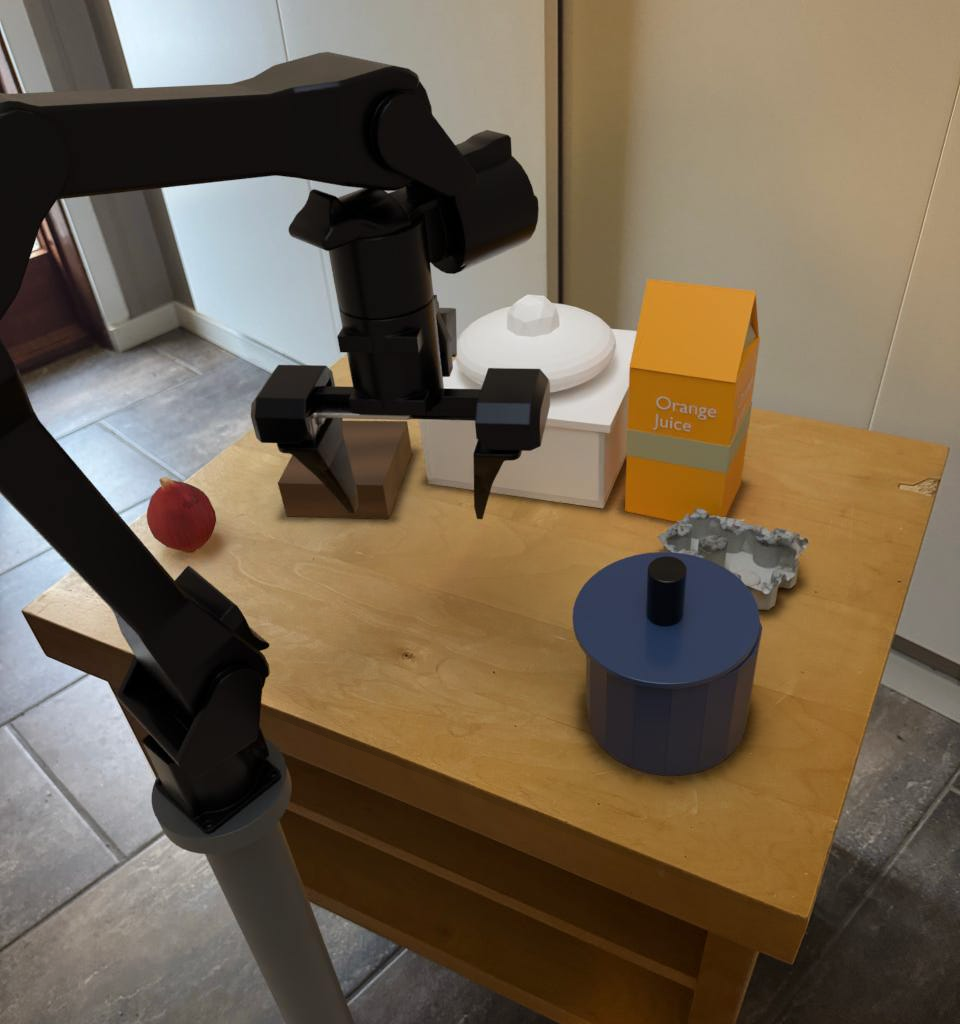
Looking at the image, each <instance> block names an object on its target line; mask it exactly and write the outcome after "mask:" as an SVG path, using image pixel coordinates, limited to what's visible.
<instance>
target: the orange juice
mask: <svg viewBox="0 0 960 1024" xmlns="http://www.w3.org/2000/svg"><path fill="white" fill-rule="evenodd" d="M758 320H759V319H758V305H757V291H756V290H751V289H749V290H748V289H743V288H742V289H740V288H733V287H723V286H714V285H706V284H697V283H687V282H678V281H672V280H671V281H669V280H660V279H654V278H653V279H651V278H647V280H646V284H645V290H644V295H643V300H642V304H641V308H640V314H639V318H638V324H637V329H636V331H637V333H636V338H635V343H634V347H633V352H632V357H631V362H630V371H629V402H628V428H627V445H626V455H627V456H626V463H625V464H626V467H625V497H624V498H625V499H624V512H628V513H631V514H632V513H633V514H637V515H641V516H646V517H652V518H656V519H660V520H661V519H662V520H667V521H672V522H675V523H677V521H681V520H682V519H683V518H684V517H685V515H686V514H689V515H690V516H691V515H692V514H693V513H694V511H695V509H696V508H698V509H703V510H705V511H707V512H708V514H709V516H714V515H718V516H720V517H727V515H728V513H729V511H730V508H731V507H732V504H733V502H734V500H735V498H736V496H737V493H738V491H739V489H740V487H741V485H742V480H743V479H742V478H743V471H744V463H745V456H746V447H747V439H748V432H749V428H750V421H751V414H752V406H753V394H754V386H755V378H756V372H757V371H756V370H757V363H758V356H759V348H760V340H761V336H760V333H759V321H758Z"/></svg>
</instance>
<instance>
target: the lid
mask: <svg viewBox="0 0 960 1024" xmlns="http://www.w3.org/2000/svg"><path fill="white" fill-rule="evenodd" d="M760 619H761V617H760V609H758V606H757V603H756V601H755V599H754V597H753V595H752V593H751V592H750V590H749V589H748V587H747V586H746V585H745V584H744V583H743V582H742V581H741V580H740V579H739V578H738V577H737V576H736V575H734V574H733V573H732V572H730V571H729V570H727V569H726V568H724V567H722V566H720V565H718V564H716V563H714V562H712V561H709V560H707V559H704V558H701V557H697V556H694V555H688V554H683V553H674V552H663V551H655V552H654V551H653V552H645V553H638V554H634V555H631V556H626V557H623V558H621V559H619V560H616V561H614V562H612V563H609V564H608V565H606V566H604V567H602V568H601V569H600V570H598V571H597V572H595V573H594V574H593V575H592V576H591V577H590V578H589V579H587V581H586V582H585V583H584V584H583V586H582V587H581V589H580V590H579V592H578V594H577V596H576V598H575V601H574V604H573V607H572V627H573V628H572V629H573V632H574V636H575V639H576V642H577V644H578V645H579V647H580V649H581V651H583V653H584V654H585V656H586V655H587V656H588V657H589V659H590V660H591V661H592V662H593V663H595V664H596V665H597V666H598V667H599V668H601V669H602V670H604V671H605V672H607V673H609V674H610V675H612V676H614V677H616V678H619V679H621V680H623V681H626V682H629V683H632V684H636V685H640V686H644V687H651V688H660V689H676V688H687V687H693V686H698V685H701V684H705V683H708V682H711V681H713V680H716V679H718V678H720V677H722V676H724V675H726V674H727V673H729V672H731V671H732V670H733V669H735V668H736V667H737V666H739V665H740V664H741V663H742V662H743V661H744V660H745V659H746V657H747V656H748V655H749V653H750V652H751V651H752V649H753V647H754V645H755V643H756V640H757V636H758V633H759V624H760V623H761V620H760Z"/></svg>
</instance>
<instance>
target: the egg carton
mask: <svg viewBox="0 0 960 1024" xmlns="http://www.w3.org/2000/svg"><path fill="white" fill-rule="evenodd" d="M656 538H657V539H658V541H659V542H660V543H661V544H662V545H663V546H662V547H663V549H662V552H674V553H683V554H688V555H694V556H697V557H701V558H704V559H707V560H709V561H712V562H714V563H716V564H718V565H720V566H722V567H724V568H726V569H727V570H729V571H730V572H732V573H733V574H734V575H736V576H737V577H738V578H739V579H740V580H741V581H742V582H743V583H744V584H745V585H746V586H747V587H748V589H749V590H750V592H751V593H752V595H753V597H754V599H755V601H756V603H757V606H758V610H765V611H769V610H770V609H772V608H773V607H775V606H776V601H777V596H778V590H779V589H780V588H784V589H788V590H790V589H792V588H793V587H794V586H795V585H796V584H797V579H798V573H799V570H800V569H799V567H800V560H799V556H801V555H802V553H804V552H805V550H806V549H807V548H808V547H809V540H808V538H807V537H805V536H801V535H800V534H799V533H798V532H795V531H793V532H791V531H790V530H788V529H787V528H786V529H784V528H778V527H775V528H774V529H773V530H769V529H767V528H766V527H764V526H763V525H760V524H759V525H753V524H751V523H746V522H743V521H742V520H741V519H739V518H733V517H728V516H726V517H720V516H718V515H714V516H709V514H708V512H707V511H705V510H703V509H698V508H696V509H695V511H694V513H693V514H692V515H691V516H690V515H689V514H686V515H685V517H684V518H683V519H682V520H681V521H677V522H675V523H674V524H672V525H670V526H668V528H667V530H666V531H665V532H664V533H660V534H658V535H657V536H656Z"/></svg>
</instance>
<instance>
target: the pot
mask: <svg viewBox="0 0 960 1024" xmlns="http://www.w3.org/2000/svg"><path fill="white" fill-rule="evenodd" d="M762 634H763V626H762V623H761V622H760V624H759V633H758V636H757V640H756V643H755V645H754V647H753V649H752V651H751V652H750V653H749V655H748V656H747V657H746V659H745V660H744V661H743V662H742V663H741V664H740V665H739V666H737V667H736V668H735V669H733V670H732V671H731V672H729V673H727V674H726V675H724V676H722V677H720V678H718V679H716V680H713V681H711V682H708V683H705V684H701V685H698V686H693V687H687V688H676V689H660V688H651V687H644V686H640V685H636V684H632V683H629V682H626V681H623V680H621V679H619V678H616V677H614V676H612V675H610V674H609V673H607V672H605V671H604V670H602V669H601V668H599V667H598V666H597V665H596V664H595V663H593V662H592V661H591V660H590V659H589V657H588V656H587V655H586V654H585V659H586V660H585V662H586V663H585V670H586V671H585V672H586V673H585V676H586V678H585V680H586V681H585V683H586V684H585V685H586V686H585V687H586V688H585V691H586V693H585V695H586V696H585V697H586V700H585V702H586V710H587V721H588V725H589V730H590V731H591V734H592V736H593V737H594V739H595V741H596V742H597V744H598V745H599V746H600V748H602V749H603V750H604V751H605V752H606V753H607V754H608V755H610V757H612V758H613V759H615V760H616V761H618V762H619V763H621V764H623V765H625V766H627V767H629V768H631V769H635V770H637V771H640V772H642V773H647V774H652V775H657V776H658V775H659V776H670V777H672V776H685V775H693V774H695V773H700V772H704V771H706V770H709V769H711V768H713V767H715V766H717V765H719V764H720V763H722V762H723V761H725V760H726V759H728V757H730V756H731V755H732V753H734V752H735V751H736V749H737V748H738V746H739V745H740V743H741V741H742V740H743V738H744V734H745V732H746V726H747V721H748V716H749V711H750V705H751V700H752V693H753V686H754V680H755V676H756V669H757V663H758V658H759V651H760V647H761V645H760V644H761V639H762Z"/></svg>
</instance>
